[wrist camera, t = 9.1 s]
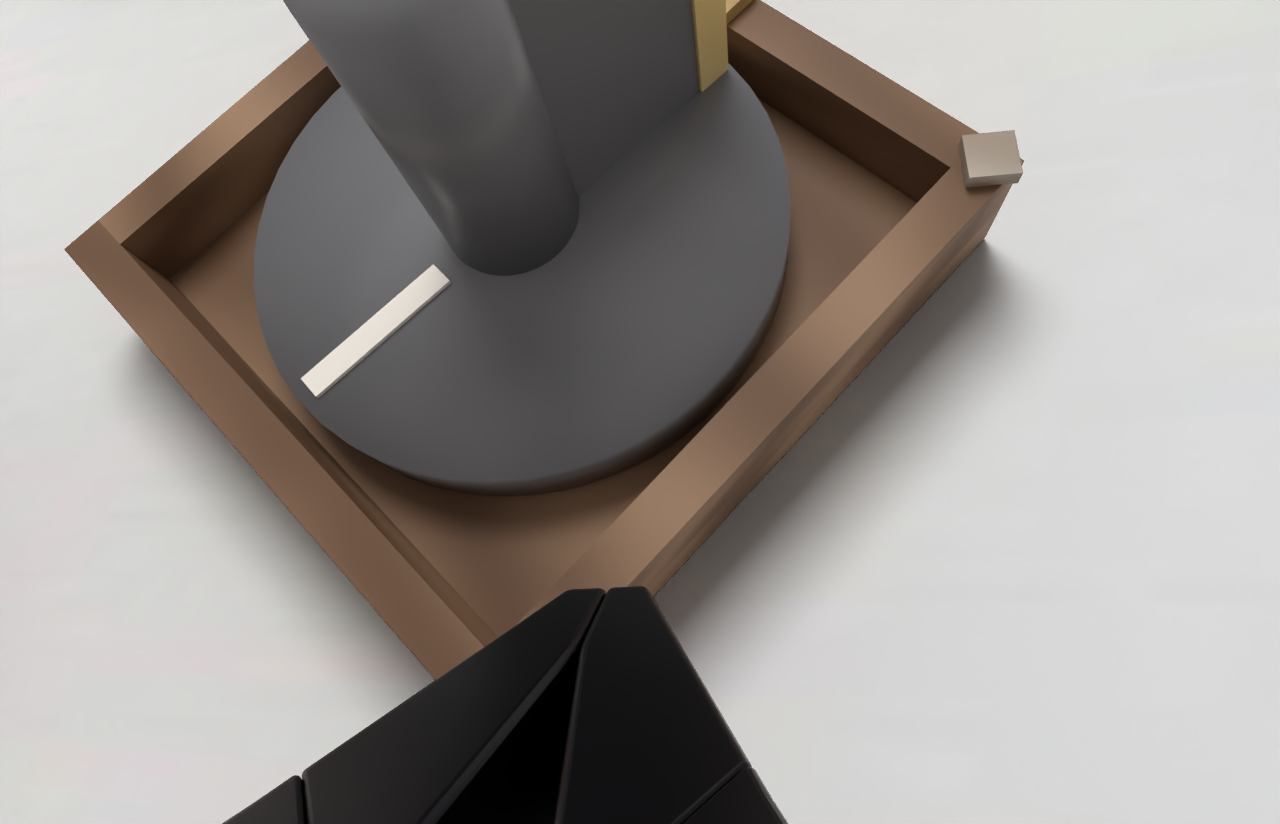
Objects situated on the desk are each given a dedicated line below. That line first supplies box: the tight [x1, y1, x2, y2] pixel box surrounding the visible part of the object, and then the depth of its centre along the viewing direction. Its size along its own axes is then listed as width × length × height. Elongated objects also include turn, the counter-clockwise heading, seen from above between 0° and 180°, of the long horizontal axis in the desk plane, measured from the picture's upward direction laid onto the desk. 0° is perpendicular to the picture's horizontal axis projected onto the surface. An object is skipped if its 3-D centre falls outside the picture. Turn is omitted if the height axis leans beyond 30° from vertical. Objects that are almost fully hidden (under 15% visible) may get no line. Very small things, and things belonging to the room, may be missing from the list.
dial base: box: [64, 0, 1024, 680], centre depth 22 cm, size 18×18×4 cm
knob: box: [254, 0, 791, 496], centre depth 18 cm, size 14×14×10 cm
